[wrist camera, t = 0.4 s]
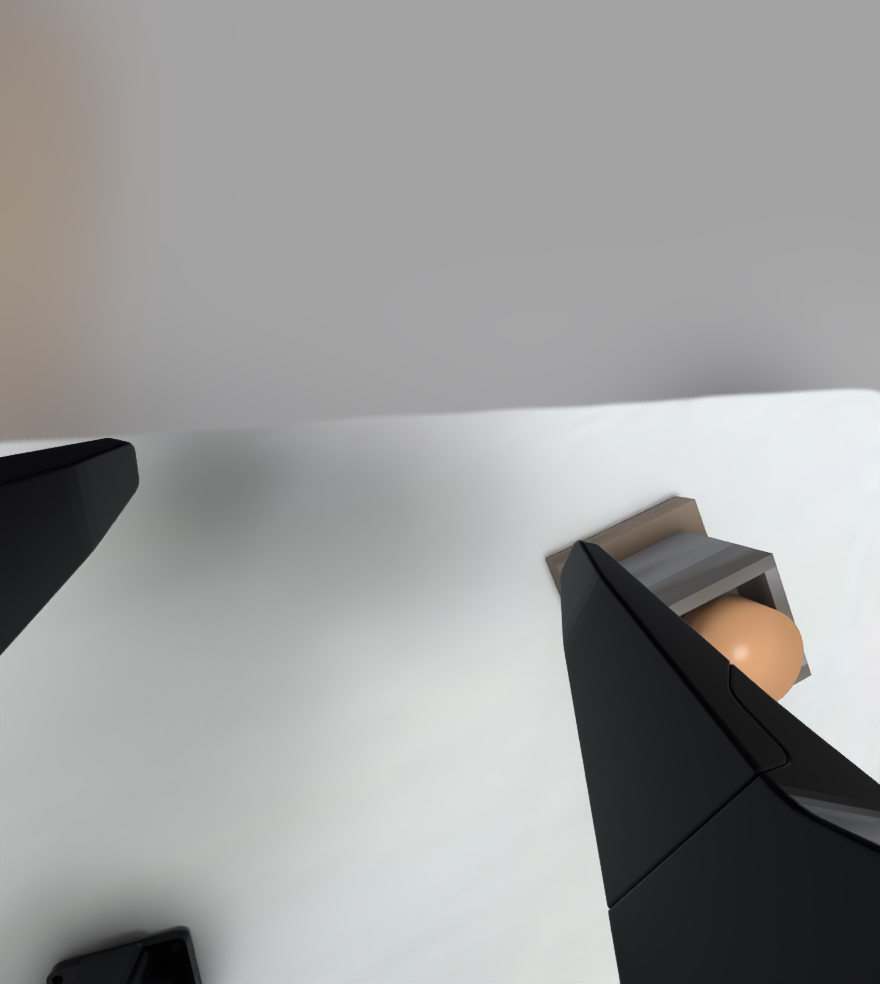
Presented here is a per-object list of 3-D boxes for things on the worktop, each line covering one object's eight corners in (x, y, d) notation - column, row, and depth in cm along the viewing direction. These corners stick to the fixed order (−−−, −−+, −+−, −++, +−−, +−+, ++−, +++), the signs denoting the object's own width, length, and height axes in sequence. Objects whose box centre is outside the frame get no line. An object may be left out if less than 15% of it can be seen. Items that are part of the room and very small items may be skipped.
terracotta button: (763, 673, 21) (805, 697, 19) (679, 693, 20) (713, 720, 18) (758, 584, 20) (801, 599, 18) (672, 602, 20) (706, 619, 18)
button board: (775, 782, 29) (902, 886, 22) (662, 847, 28) (757, 977, 21) (676, 496, 26) (787, 513, 19) (545, 559, 25) (612, 601, 18)
